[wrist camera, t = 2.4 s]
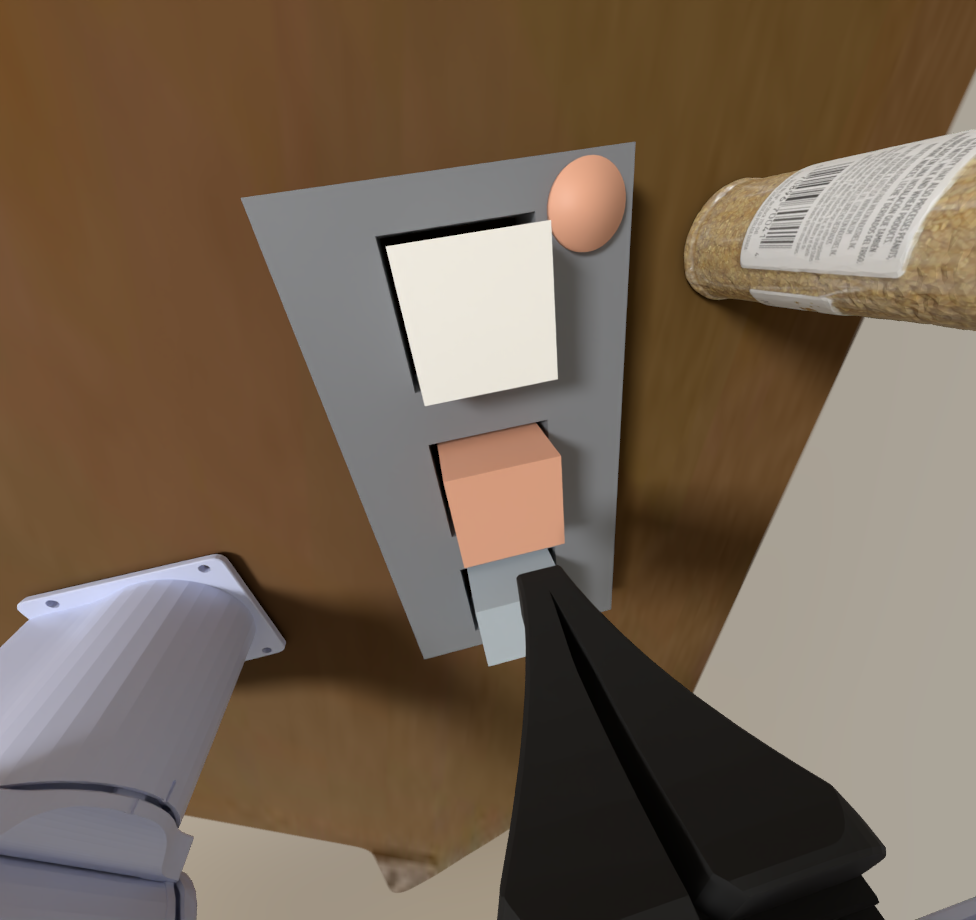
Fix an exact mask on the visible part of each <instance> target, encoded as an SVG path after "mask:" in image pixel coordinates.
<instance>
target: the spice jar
mask: <svg viewBox="0 0 976 920" xmlns="http://www.w3.org/2000/svg"><path fill="white" fill-rule="evenodd" d="M684 267H685V274H686V278H687V280H688V281H689V283H690V285H691V286H692V288H693V289H694V290H695V291H696V292H698V293H700V294H701V295H703V296H705V297H706V298H709V299H715V300H722V299H740V300H746V301H754V302H760V303H763V304H765V305H770V306H776V307H784V308H791V309H798V310H805V311H815V312H820V313H826V314H835V315H844V316H849V315H853V316H863V317H870V318H876V319H890V320H897V321H908V322H915V323H921V324H933V325H937V326H943V327H950V328H956V329H962V330H973V331H976V129H972V130H967V131H963V132H958V133H954V134H949V135H945V136H940V137H936V138H931V139H927V140H922V141H917V142H913V143H908V144H904V145H899V146H895V147H890V148H886V149H881V150H877V151H872V152H868V153H863V154H859V155H854V156H850V157H845V158H840V159H836V160H831V161H827V162H823V163H818V164H814V165H811V166H808V167H806V168H804V169H802V170H799V171H793V172H790V173H784V174H780V175H775V176H770V177H766V178H743V179H740V180H736V181H734V182H732V183H730V184H728V185H726V186H724V187H723V188H721V189H720V190H718V191H717V192H716V193H715V194H714V195H713V196H712V197H711V198H710V199H709V200H708V201H707V202H706V204H705V205H704V206H703V208H702V209H701V211H700V212H699V213H698V215H697V216H696V218H695V220H694V222H693V224H692V227H691V229H690V231H689V234H688V236H687V240H686V244H685V250H684Z"/></svg>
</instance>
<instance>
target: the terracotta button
mask: <svg viewBox="0 0 976 920" xmlns="http://www.w3.org/2000/svg"><path fill="white" fill-rule="evenodd" d="M437 446H438V452H439V458H440V464H441V471H442V477H443V483H444V487H445V491H446V495H447V499H448V503H449V507H450V511H451V515H452V519H453V524H454V528H455V532H456V536H457V540H458V544H459V548H460V552H461V556H462V560H463V564H464V568H468V567H472V566H476V565H480V564H484V563H488V562H492V561H496V560H500V559H504V558H508V557H512V556H516V555H520V554H524V553H528V552H532V551H536V550H540V549H544V548H548V547H552V546H556V545H560V544H564V543H565V537H564V513H563V489H562V466H561V455H560V454H559V452H558V451H557V450H556V448H555V447H554V446H553V445H552V443H551V442H550V441H549V439H548V438H547V437H546V435H545V434H544V433H543V431H542V430H541V429H540V427H539V426H538V425H537V423H536V422H534V423H529V424H525V425H520V426H515V427H510V428H506V429H501V430H496V431H492V432H487V433H482V434H478V435H473V436H468V437H464V438H459V439H454V440H450V441H445V442H440V443H437Z"/></svg>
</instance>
